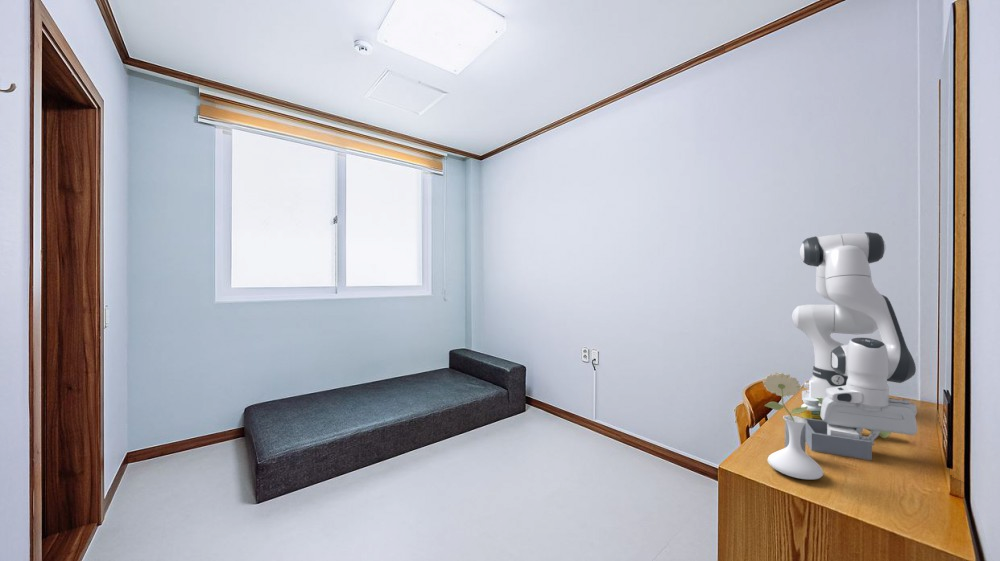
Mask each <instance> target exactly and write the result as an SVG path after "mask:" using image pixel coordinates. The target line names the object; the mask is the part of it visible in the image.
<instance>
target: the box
mask: <svg viewBox="0 0 1000 561" xmlns="http://www.w3.org/2000/svg"><path fill="white" fill-rule="evenodd" d="M800 417H801V418H802V416H800ZM804 419H806V420H807V421H808V422H807V423H806V442H805V444H807V446H808V448H809V449H810V451H813V452H817V453H824V454H830V455H835V456H842V457H848V458H853V459H859V460H865V461H873V455H872V454H873V445H872V442H871V441H868V440H861V439H854V438H847V437H841V436H834V435H827V423H825V422H824V421H823V420H816V419H809V418H804ZM847 427H848V426H847ZM853 428H854V427H853Z"/></svg>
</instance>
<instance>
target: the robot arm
mask: <svg viewBox="0 0 1000 561" xmlns="http://www.w3.org/2000/svg"><path fill="white" fill-rule="evenodd" d="M886 248H887V245H886V243H885V241H884V238H883V236H881V234H880V233H878V232H868V231H867V232H864V233H863V232H846V233H845V232H844V233H842V232H841V233H838V234H837V233H836V234H829V235H828V234H827V235H822V236H811V237H808V238H805V239H804V240H803V241H802V243H801V245H800V248H799V255H800V258H801V260H802V261H803V264H805V265H807V266H810V267H816V268H815V291H816V294H818V295H819V296H820V297H822V298H823V299H825V300H828V301H830V302H832V303H834V304H819V303H818V304H817V303H811V304H802V305H800V304H799V305H797V306H796V307H795V308H794V309H793V311H792V312H791V313H792V314H791V320H792V323H793V325H794V326H795V327H796V328H798V329H799V331H801V332H802V333H804V334H805V335H806V336H807V337H808V338H809V340H810V343H811V344H812V347H813V356H814V366H813V368H812V376H811V377H810V379H809V380H808V382H807V381H806V382H803V388H804V389H806V390H802V391H801V400H803V398H805V397H809V398H811V397H821V398H824V399H823V401H822V405H821V404H820V403H819V406H820V407H821V418H822V420H823V421H824V422H825V423H827V424H834V425H841V426H848V427H854V428H855V430H856V431H857V433H858V434H859V439H861V440H868V441H871V442H872V446H874V445H875V440H876V439H877V438H878V437H879V436H878V435H879V431H885V432H891V434H892V433H893V434H901V435H909V436H915V435H916V434H917V433H918V424H917V419H916V415H917V413H918V408H917V405H916V404H915V403H914V402H912V401H910V400H908V399H898V398H893V397H892V398H891V397H889V396H890V394H889V393H890V388H889V387H890V386H889V383H888V382H892V383H896V384H902V383H904V382H906V381H908V380H910V379H911V378H912V377H914V376H915V375H916V371H917V369H916V362H915V359H914V358H913V355H912V354H911V352H910V350H909V348H908V346H907V343H906V341H905V338H904V335H903V332H902V328H901V326H900V323H899V320H898V317H897V314H896V312H895V309H894V307H893V305H892V303H891V301H890V299H889V298H888V297H887V296H886V295H884V294H882V293H880V292H879V291H878V289H877V288H876V287H875V286H874V283H873V278H872V273H871V272H872V271H871V267H870V264H873V263H877V262H879V261H881V260H882V259H883V258H884V254H885V252H886ZM877 330H878V334H879V336H880V340H878V339H874V338H870V337H855V338H851V339H850V340H849V342H848V343H847V344H844V343H842V342H840V341H838V340H835V339H833V338H832V337H831V334H842V335H844V334H845V335H868V334H871V335H872V334H873V333H875V332H876V331H877ZM866 429H870V431H871V433H870V434H869V435H868V436H867V435H866V436H865V435H863V434H862V433H863V432H864V430H866ZM870 431H869V432H870Z"/></svg>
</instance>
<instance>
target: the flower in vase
mask: <svg viewBox="0 0 1000 561" xmlns="http://www.w3.org/2000/svg"><path fill="white" fill-rule="evenodd" d="M799 382H800V381H799V380H797V378H796V377H792V376H791V374H785V373H784V372H780V373H778V372H774V373H773V374H771V373H769V374H768V375H766V377H765V378H764V380H762V383H763V384H762V385H763V387H764V388H766V391H768V392H770V393H771V394H775V395H776V396H779V397H781V403H782V404H781V403H778V402H777V401H769V402H768V403H765V404H764V407H766V408H769V409H770V408H771V409H773V410H776V411H780V410H781V409H783V408H784V410H785V411H786V413H788V415H783V416H782V418H783V420H784V422H785V421H786V423H787V425H788V429H789V445H788V446H787V447H786V448H785V447H784V448H781V449H779V450H777V451H774V452H772V453H771V454H770V455H768V458H767V463H768V464H769V466H770V467H771V468H773V469H774V470H776V471H777V472H780V473H781V474H783V475H786V476H789V477H792V478H795V479H799V480H800V479H801V480H818V479H821V478H822V477H823V476H824V471H823V468H822V467H821V466H820V465H819V463H818V462H817V461H816V460H815V459H814V458H812V457H810V455H809V454H807V453H806V451H805V452H804V451H803V450H802V448H801V444H800V437H801V431H802V428H803V426H804V425H805V424H806V423H807V422H808V421H807V420H806V419H804V418H801V417H802V416H796V415H799V414H802V412H804V411H805V410H806V409H807V408H808V406H807V407H802V408H801V407H794V408H793V409H792V410H791V411H789V410H788V409H787V407H786V406H785V402H784V397H786V396H787V397H791V396H796V395H797V393H799V392H800V391H801V390H802V388H801V385H800V383H799Z"/></svg>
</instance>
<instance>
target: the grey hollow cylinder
mask: <svg viewBox="0 0 1000 561" xmlns="http://www.w3.org/2000/svg"><path fill="white" fill-rule="evenodd" d="M800 444H801V448H802V450H803V451H804V452H805V453H806V424H805V425H804V426H803V428H802V431H801V437H800ZM788 445H789V429H788V425H787V423H786V421H785V420H784V448H786V447H787V446H788Z"/></svg>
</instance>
